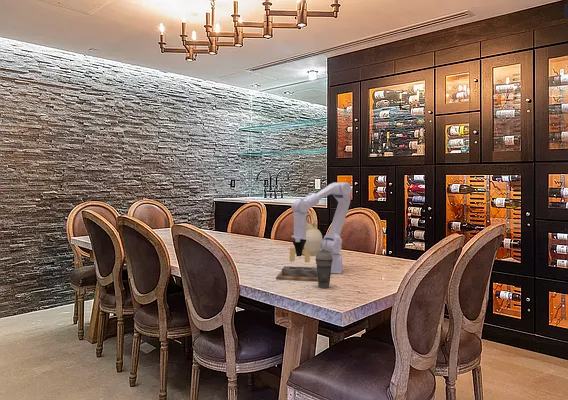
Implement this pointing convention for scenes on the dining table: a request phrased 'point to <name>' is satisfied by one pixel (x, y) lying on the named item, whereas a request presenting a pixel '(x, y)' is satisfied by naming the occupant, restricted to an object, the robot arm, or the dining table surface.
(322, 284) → the beverage cup
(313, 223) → the jug
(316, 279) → the rail board
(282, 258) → the dining table surface
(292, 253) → the pine wood offcut
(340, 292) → the dining table surface
